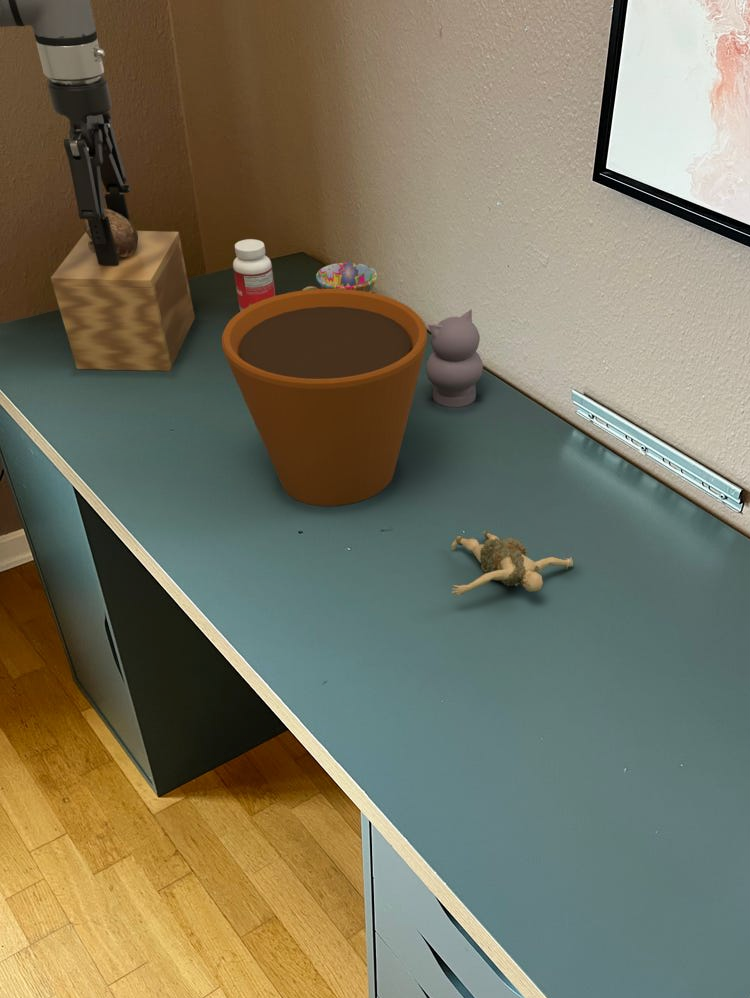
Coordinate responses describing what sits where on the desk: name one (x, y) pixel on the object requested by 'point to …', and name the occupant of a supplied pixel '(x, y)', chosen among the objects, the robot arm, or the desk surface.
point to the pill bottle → (252, 273)
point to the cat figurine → (454, 361)
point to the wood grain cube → (126, 305)
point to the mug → (346, 277)
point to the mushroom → (118, 234)
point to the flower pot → (328, 387)
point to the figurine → (506, 563)
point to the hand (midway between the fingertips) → (116, 251)
